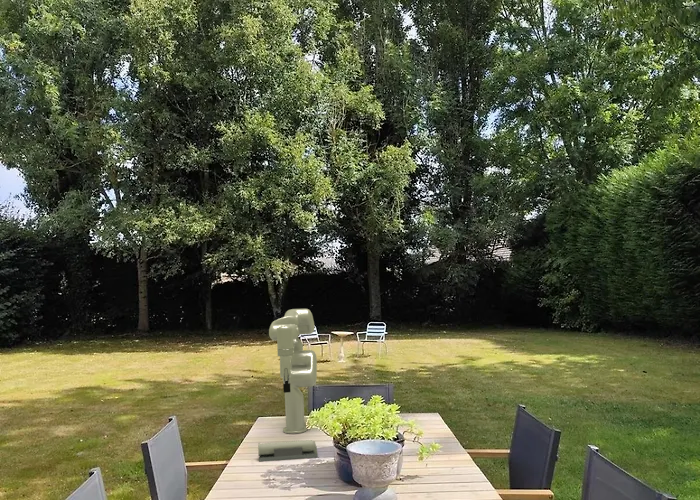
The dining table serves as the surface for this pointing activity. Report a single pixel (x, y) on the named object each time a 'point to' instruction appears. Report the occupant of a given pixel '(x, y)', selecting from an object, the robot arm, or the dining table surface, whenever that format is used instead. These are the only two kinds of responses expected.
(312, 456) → the galvanized metal plate
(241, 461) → the dining table surface
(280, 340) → the robot arm
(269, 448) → the tube
